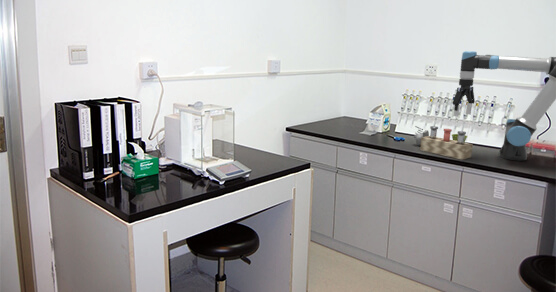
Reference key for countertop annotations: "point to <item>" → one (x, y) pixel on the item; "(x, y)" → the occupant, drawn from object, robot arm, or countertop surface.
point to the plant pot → (455, 137)
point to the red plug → (447, 135)
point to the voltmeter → (420, 136)
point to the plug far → (433, 132)
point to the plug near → (461, 137)
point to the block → (446, 147)
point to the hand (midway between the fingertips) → (462, 115)
